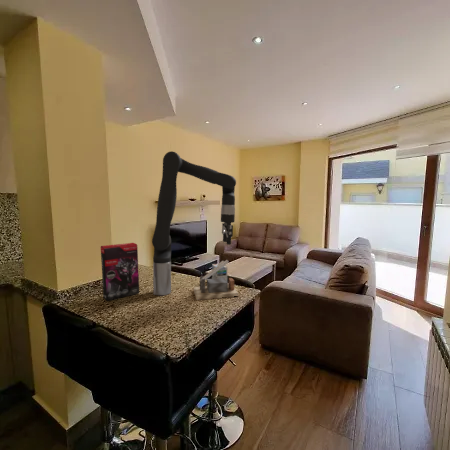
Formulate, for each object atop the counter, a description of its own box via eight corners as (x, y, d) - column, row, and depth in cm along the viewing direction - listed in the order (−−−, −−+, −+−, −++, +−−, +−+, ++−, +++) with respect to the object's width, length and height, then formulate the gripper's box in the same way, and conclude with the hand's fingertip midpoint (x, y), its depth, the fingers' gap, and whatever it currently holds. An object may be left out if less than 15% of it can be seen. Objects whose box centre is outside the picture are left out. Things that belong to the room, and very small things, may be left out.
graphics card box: (105, 302, 123) (104, 247, 120) (101, 298, 128) (99, 245, 125) (139, 294, 134) (138, 243, 132) (134, 290, 139) (133, 242, 137)
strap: (202, 283, 132) (199, 280, 132) (201, 281, 136) (199, 278, 135) (229, 262, 135) (227, 259, 134) (227, 261, 138) (225, 258, 138)
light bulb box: (227, 284, 151) (227, 267, 150) (217, 285, 149) (217, 268, 148) (221, 279, 161) (221, 263, 160) (211, 280, 159) (211, 264, 158)
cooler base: (196, 299, 127) (196, 282, 126) (193, 290, 140) (193, 274, 140) (238, 296, 132) (238, 279, 131) (231, 287, 145) (231, 272, 145)
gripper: (218, 212, 141) (217, 241, 143) (224, 213, 127) (223, 245, 129) (231, 213, 143) (229, 241, 144) (238, 214, 129) (237, 245, 131)
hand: (226, 243), depth 137 cm, fingers open, 8 cm apart
